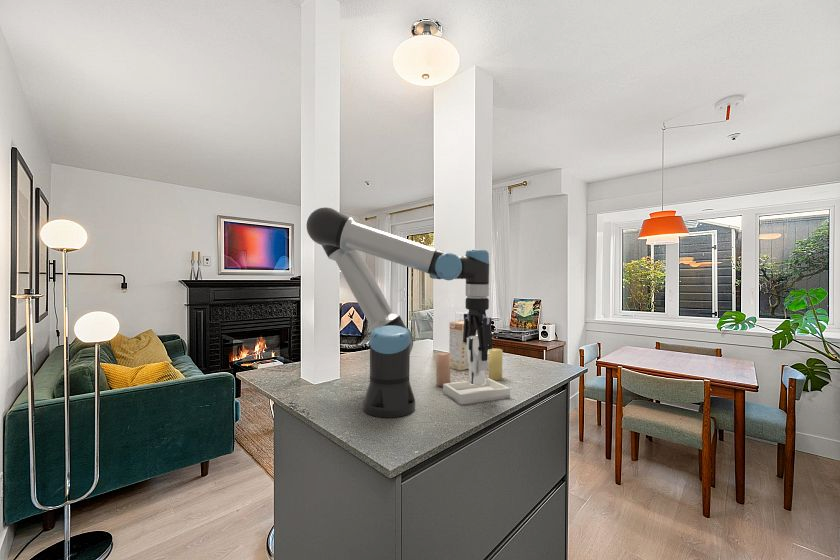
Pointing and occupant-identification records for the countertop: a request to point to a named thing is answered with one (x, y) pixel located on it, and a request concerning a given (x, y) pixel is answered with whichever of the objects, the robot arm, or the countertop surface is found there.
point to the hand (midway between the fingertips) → (476, 367)
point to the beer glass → (474, 361)
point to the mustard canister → (495, 364)
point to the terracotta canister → (442, 368)
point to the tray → (475, 391)
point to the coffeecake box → (457, 346)
